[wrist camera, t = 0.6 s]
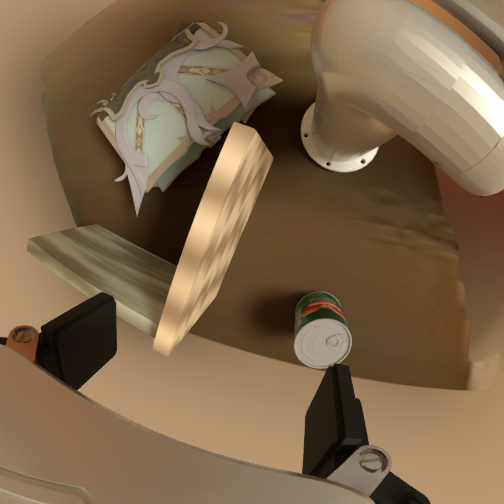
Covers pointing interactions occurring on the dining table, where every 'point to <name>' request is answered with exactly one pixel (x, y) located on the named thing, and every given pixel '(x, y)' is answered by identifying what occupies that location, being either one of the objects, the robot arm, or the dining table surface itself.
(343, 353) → the canned tomato
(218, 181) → the wooden corner bracket
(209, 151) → the dining table surface
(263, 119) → the dining table surface
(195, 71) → the ornate book
